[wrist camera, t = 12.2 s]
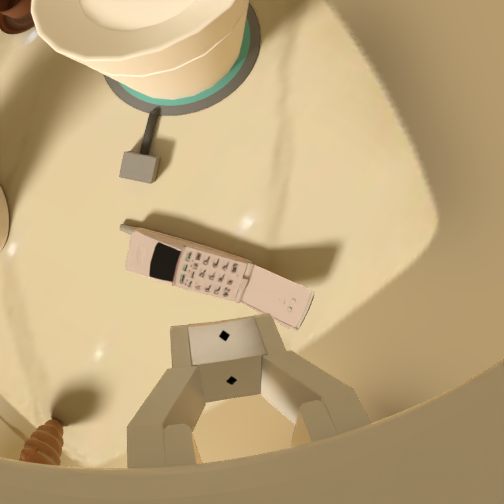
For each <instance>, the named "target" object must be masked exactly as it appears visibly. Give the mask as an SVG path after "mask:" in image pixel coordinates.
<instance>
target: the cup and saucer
mask: <svg viewBox="0 0 504 504" xmlns="http://www.w3.org/2000/svg"><path fill="white" fill-rule="evenodd" d="M31 1H32V0H0V29H1V30H2V31H3V32H5V33H7V34H19V33H22V32H25V31H27V30H29V29H31V28H32V27H34V26H35V24H34V21H33V18H32V15H31Z"/></svg>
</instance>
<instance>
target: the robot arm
mask: <svg viewBox="0 0 504 504" xmlns="http://www.w3.org/2000/svg"><path fill="white" fill-rule="evenodd" d="M8 230H9V213H8V207H7V202H6V199H5V196H4V193H3V191H2V188H1V186H0V251H1V250H2V249H3V247H4V245H5V242H6V240H7V236H8ZM170 338H171V355H172V368H171V369H167V370H166V372H165V373H164V375H163V376H162V377H161V379H160V380H159V382H158V383H157V385H156V386H155V387H154V389H153V390H152V392H151V393H150V394H149V396H148V397H147V399H146V400H145V402H144V403H143V404H142V406H141V407H140V409H139V410H138V412H137V413H136V414H135V416H134V417H133V419H132V420H131V422H130V423H129V424H128V426H127V463H128V468H127V469H126V468H123V469H122V468H121V469H120V468H118V469H117V468H83V467H67V466H56V465H47V464H38V463H31V462H24V461H18V460H12V459H6V458H1V457H0V504H504V359H503V360H502V361H500V362H499V363H497V364H495V365H494V366H492V367H490V368H489V369H487V370H485V371H483V372H482V373H480V374H478V375H476V376H474V377H473V378H471V379H469V380H467V381H465V382H464V383H462V384H460V385H458V386H456V387H454V388H452V389H450V390H448V391H446V392H444V393H442V394H440V395H438V396H436V397H433V398H431V399H429V400H427V401H425V402H423V403H420V404H418V405H416V406H414V407H411V408H409V409H407V410H404V411H402V412H399V413H397V414H394V415H392V416H390V417H387V418H384V419H382V420H379V421H376V422H374V423H371V421H370V419H369V417H368V415H367V413H366V411H365V410H364V408H363V406H362V404H361V402H360V400H359V398H358V396H357V394H356V392H355V391H354V389H353V388H352V387H350V386H348V385H346V384H344V383H343V382H341V381H340V380H338V379H336V378H335V377H333V376H332V375H330V374H328V373H326V372H325V371H323V370H321V369H320V368H318V367H317V366H315V365H313V364H312V363H310V362H309V361H307V360H306V359H304V358H302V357H301V356H299V355H298V354H296V353H295V352H293V351H286V349H285V346H284V344H283V342H282V339H281V337H280V334H279V332H278V330H277V327H276V325H275V322H274V320H273V318H272V315H271V314H270V313H267V314H261V315H255V316H250V317H243V318H237V319H230V320H223V321H216V322H207V323H197V324H188V325H180V326H171V328H170ZM257 394H261V396H263V397H264V398H265V399H266V400H267V401H268V402H269V403H270V404H271V405H273V406H274V407H275V408H276V409H277V410H279V412H281V413H282V414H283V415H284V416H285V417H286V418H288V419H289V420H290V421H291V422H293V424H295V428H294V432H293V436H292V440H291V444H290V448H287V449H282V450H278V451H274V452H268V453H264V454H259V455H254V456H249V457H243V458H237V459H231V460H224V461H218V462H210V463H202V460H201V457H200V454H199V452H198V449H197V446H196V443H195V440H194V438H193V434H192V432H193V430H194V428H195V426H196V424H197V421H198V419H199V417H200V415H201V413H202V411H203V409H204V407H205V403H206V402H213V401H219V400H224V399H230V398H236V397H243V396H250V395H257Z"/></svg>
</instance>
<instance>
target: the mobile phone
mask: <svg viewBox="0 0 504 504" xmlns="http://www.w3.org/2000/svg"><path fill="white" fill-rule="evenodd" d="M120 230H121V231H123V232H126V233H128V234H131V235H132V236H131V240H130V245H129V250H128V254H127V259H126V264H125V266H126V268H127V269H128V270H129V271H131V272H134V273H136V274H139V275H142V276H145V277H147V278H150V279H153V280H156V281H159V282H162V283H165V284H168V285H171V286H176V287H179V288H183V289H187V290H190V291H194V292H198V293H202V294H206V295H210V296H214V297H218V298H222V299H226V300H230V301H235V302H236V303H240V302H241V303H243V304H245V305H247V306H249V307H250V308H252V309H254V310H256V311H258V312H260V313H262V314H267V313H270V314H271V315H272V318H273V320H275V321H277V322H279V323H280V325H282V326H284V327H286V328H291V329H293V330H295V331H296V330H298V329H299V327H300V326H301V324H302V322H303V320H304V318H305V316H306V314H307V312H308V310H309V308H310V306H311V303H312V300H313V298H314V292H313V291H311V290H309V289H307V287H306V286H304V285H301V284H299V283H295V282H293V281H290V280H288V279H286V278H284V277H281V276H279V275H277V274H274V273H272V272H270V271H268V270H265V269H263V268H261V267H259V266H257V265H254V264H253V262H252V261H251V260H248V259H245V258H242V257H239V256H236V255H233V254H230V253H227V252H224V251H221V250H218V249H215V248H212V247H209V246H205V245H202V244H198V243H195V242H192V241H188V240H185V239H181V238H178V237H174V236H171V235H168V234H164V233H161V232H157V231H153V230H149V229H145V228H142V227H138V228H137V227H133V226H128V225H124V224H121V225H120Z"/></svg>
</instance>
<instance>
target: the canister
mask: <svg viewBox="0 0 504 504" xmlns="http://www.w3.org/2000/svg"><path fill="white" fill-rule="evenodd" d="M248 4H249V0H32V1H31V15H32V18H33V21H34V24H35V26H36V29H37V32H38V35H39V36H40V37H41V38H42V39H43V40H45V41H46V42H47V43H48V44H49V45H50V46H51V47H52V48H53V49H54V50H55V51H56V52H58V53H60V54H62V55H65V56H67V57H69V58H71V59H73V60H75V61H77V62H80V63H82V64H85V65H87V66H88V67H90V68H92V69H94V70H96V71H98V72H100V73H102V74H104V75H106V76H108V77H110V78H112V79H114V80H116V81H118V82H120V83H122V84H124V85H126V86H128V87H130V88H131V89H133V90H135V91H138V92H140V93H142V94H145V95H147V96H149V97H152V98H158V99H169V100H175V99H180V98H185V97H191V96H195V95H197V94H199V93H201V92H203V91H205V90H207V89H209V88H211V87H213V86H214V85H215V84H216V83H218V82H219V81H220V80H221V79H222V78H223V77H224V76H225V75H227V74H228V73H229V71H230V70H231V68H232V66H233V65H234V63H235V61H236V60H237V58H238V57H239V53H240V48H241V44H242V39H243V34H244V28H245V22H246V16H247V10H248Z"/></svg>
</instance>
